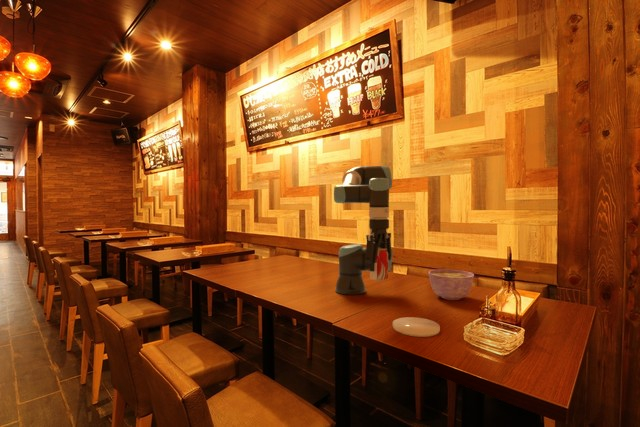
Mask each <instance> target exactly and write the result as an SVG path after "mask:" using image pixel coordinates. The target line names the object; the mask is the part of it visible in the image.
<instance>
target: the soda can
mask: <svg viewBox="0 0 640 427" xmlns="http://www.w3.org/2000/svg"><path fill="white" fill-rule="evenodd" d="M375 263H377V280H375V281H376V282H383V281H386V280H387V279H388V278H389V271H388V252H387V250H386V248H384V249H383V248H379V247H378V252H377V257H376V262H375Z"/></svg>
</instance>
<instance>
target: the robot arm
mask: <svg viewBox="0 0 640 427" xmlns="http://www.w3.org/2000/svg"><path fill="white" fill-rule="evenodd" d="M392 180H393V178H392V173H391V168H390V167H389V166H386V165H370V166H365V165H364V166H362V165H361V166H356V167H353V168H351V169H349V170H347V171H346V172H345V173H344V174H343V176H342V181H341V182H342V183H341V184H337V185H335V186H334V187H333V188H334V189H333V201H334V202H335V203H336V204H369V205H368V206H369V207H368V217H369V219H368V222H369V223H368V224H369V225H368V226H369V234H366V235H365V237H366V239H365V240H366V247H364V246H363V245H362V244H360V243H359V244H357V243H355V244H348V245H343V246H341V247H340V248H339V249H338V277H337V281H336V285H335V292H336V293H338V294H341V295H347V296H348V295H349V296H353V295H354V296H355V295H362V294H365V293H366V291H367V290H366V289H367V288H366V285H365V281H364V278H363V272H369V280H372V281H376V280H377V263H375V262H376V257H377V252H378V247H379V248H383V249H384V248H386V250H387V252H388V272H389V271H390V270H391V269H392V264H393V261H392V260H393V255H394V254H393V252H394V249H393V247H392V241H391V238H392V233H391V232H388V229H389V228H390V220H389V219H388V218H389V217H390V206H389V205H390V189H392V188H393V181H392Z"/></svg>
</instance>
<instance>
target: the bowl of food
mask: <svg viewBox="0 0 640 427" xmlns="http://www.w3.org/2000/svg"><path fill="white" fill-rule="evenodd" d="M428 277H429V282H430V285H431V288H432V291H433V292H434V294H436V295H437V296H439V297H441V299H444V300H449V301H458V300H459V301H460V300H461V299H462V298H465V297H467V296H468V295H469V294H470V291H471V289H472V286H473V281H474V278H475V274H474V273H473V272H469V271H465V270H461V269H460V270H459V269H452V268H450V269H445V268H443V269H442V268H441V269H439V268H438V269H431V270H429V271H428Z"/></svg>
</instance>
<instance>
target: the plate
mask: <svg viewBox="0 0 640 427" xmlns="http://www.w3.org/2000/svg"><path fill="white" fill-rule="evenodd" d="M392 329H393V330H394V331H395V332H397V333H400V334H402V335H405V336H411V337H416V338H417V337H418V338H421V337H422V338H423V337H424V338H426V337H433V336H436V335H438V334H439V333H440V331H441V327H440V324H439V323H437V322H436V321H433V320H431V319H427V318H423V317H416V316H415V317H413V316H412V317H411V316H410V317H409V316H408V317H407V316H406V317H400V318H397V319H394V320H393V321H392Z"/></svg>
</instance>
